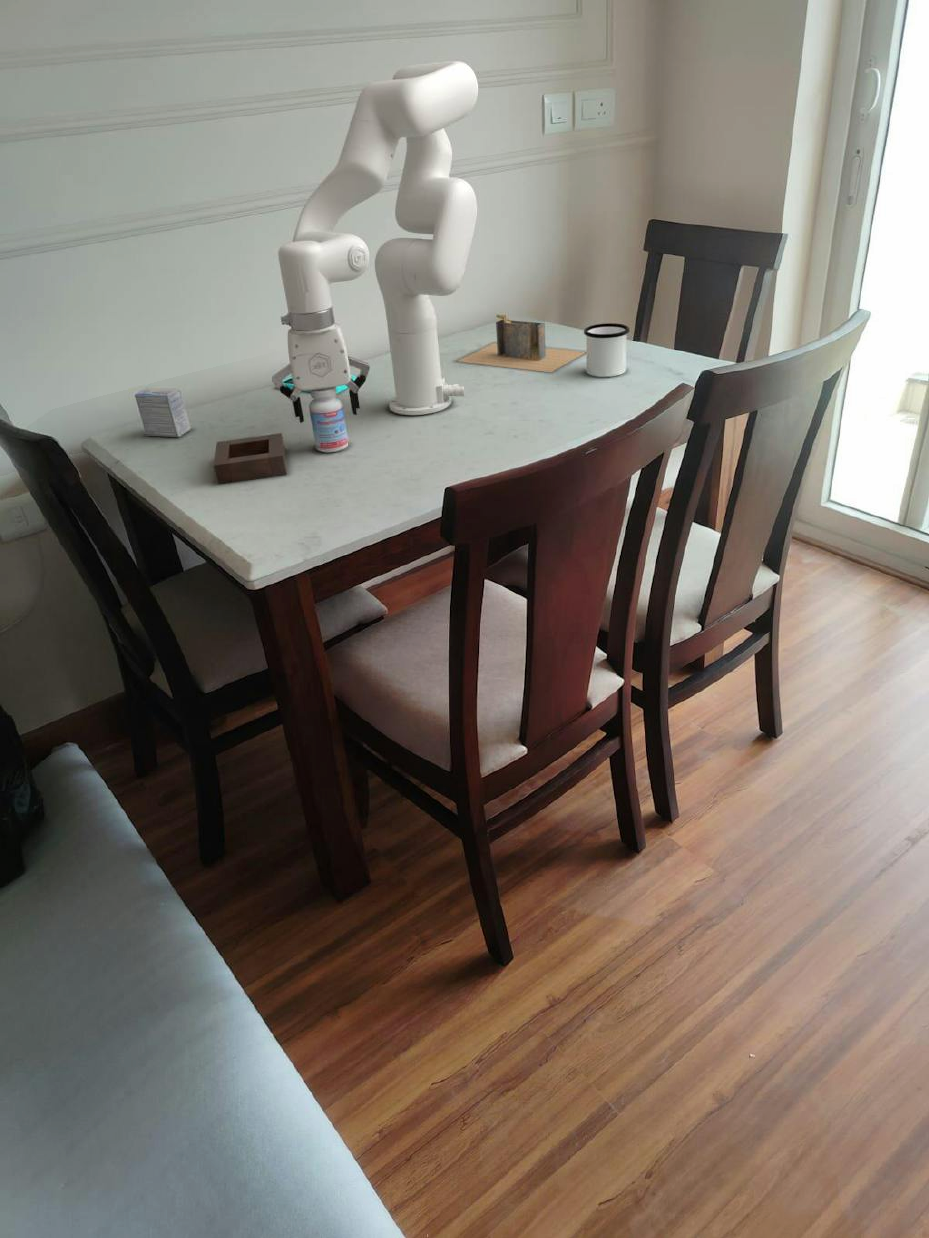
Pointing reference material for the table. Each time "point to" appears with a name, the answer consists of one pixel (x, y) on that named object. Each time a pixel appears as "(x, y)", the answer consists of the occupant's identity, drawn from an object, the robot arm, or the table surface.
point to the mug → (606, 349)
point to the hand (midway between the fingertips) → (328, 416)
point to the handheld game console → (290, 384)
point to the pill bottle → (328, 420)
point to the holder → (250, 458)
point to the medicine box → (162, 412)
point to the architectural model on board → (521, 348)
